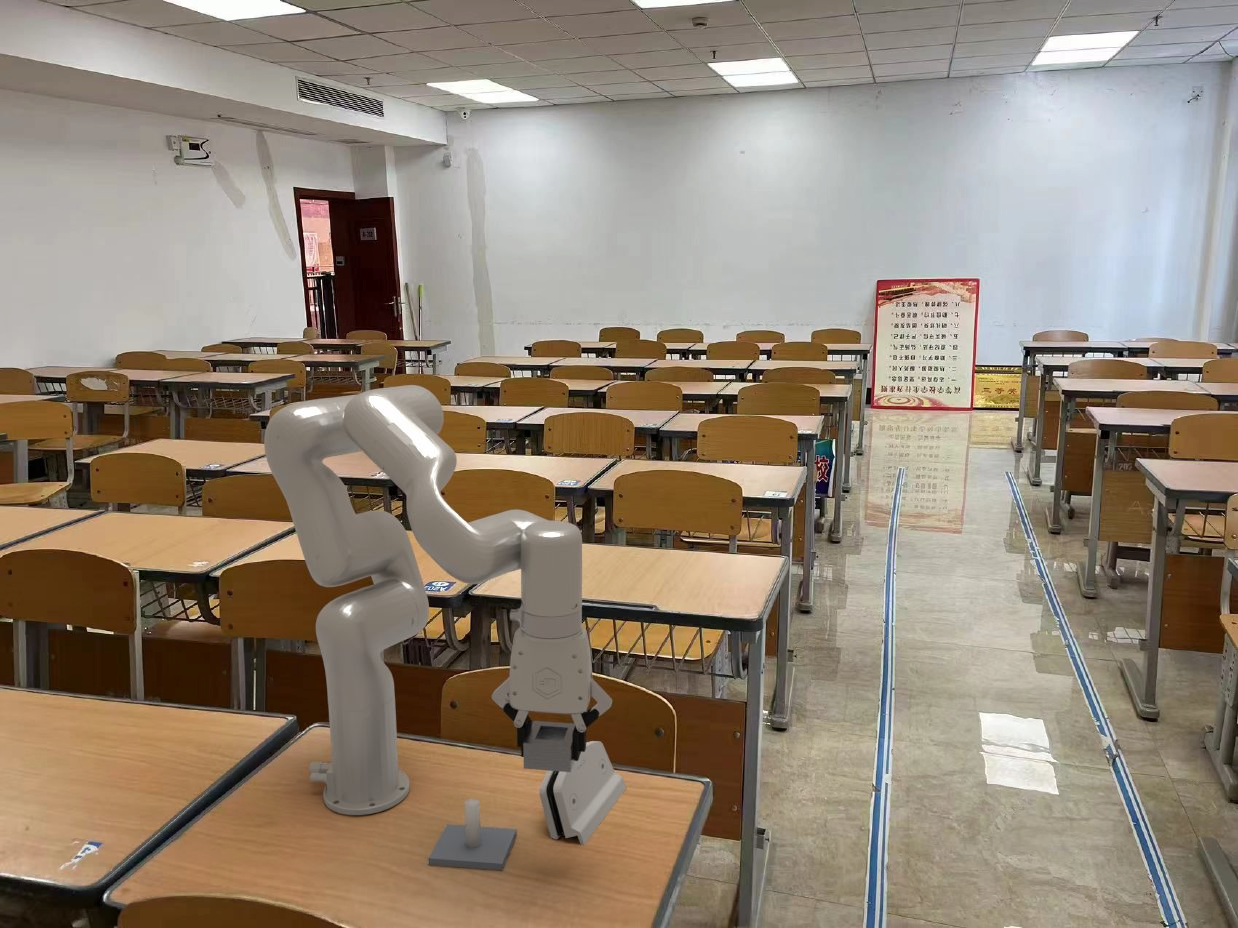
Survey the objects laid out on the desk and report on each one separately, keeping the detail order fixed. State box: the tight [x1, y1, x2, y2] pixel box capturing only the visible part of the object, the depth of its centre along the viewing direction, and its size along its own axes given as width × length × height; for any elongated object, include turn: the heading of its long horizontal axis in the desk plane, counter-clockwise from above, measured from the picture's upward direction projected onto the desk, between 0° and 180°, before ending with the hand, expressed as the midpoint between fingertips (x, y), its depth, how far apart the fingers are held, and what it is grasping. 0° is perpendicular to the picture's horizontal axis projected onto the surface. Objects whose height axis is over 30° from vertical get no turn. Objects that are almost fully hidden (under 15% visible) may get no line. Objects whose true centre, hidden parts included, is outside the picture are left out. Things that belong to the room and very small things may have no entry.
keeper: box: [428, 798, 518, 872], centre depth 126 cm, size 10×8×7 cm
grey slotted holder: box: [539, 740, 627, 846], centre depth 136 cm, size 17×5×10 cm, turn 158°
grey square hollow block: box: [523, 720, 575, 772], centre depth 120 cm, size 6×6×4 cm
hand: (551, 752), depth 120 cm, fingers closed on grey square hollow block, 6 cm apart
